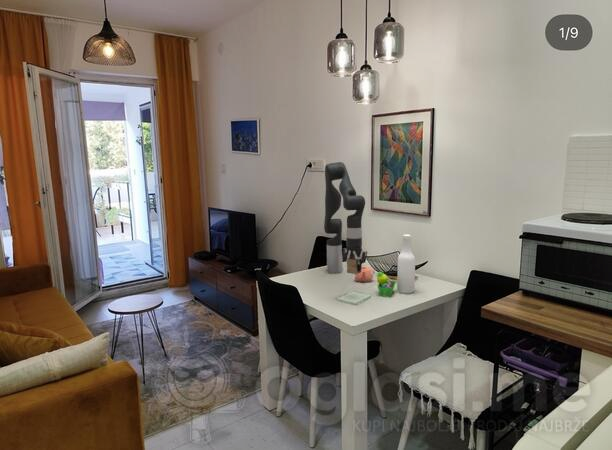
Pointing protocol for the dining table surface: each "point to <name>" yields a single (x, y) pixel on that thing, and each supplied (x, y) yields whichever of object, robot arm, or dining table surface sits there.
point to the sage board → (354, 298)
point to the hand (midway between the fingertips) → (354, 270)
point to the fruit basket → (384, 285)
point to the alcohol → (406, 267)
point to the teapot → (364, 274)
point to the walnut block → (352, 266)
